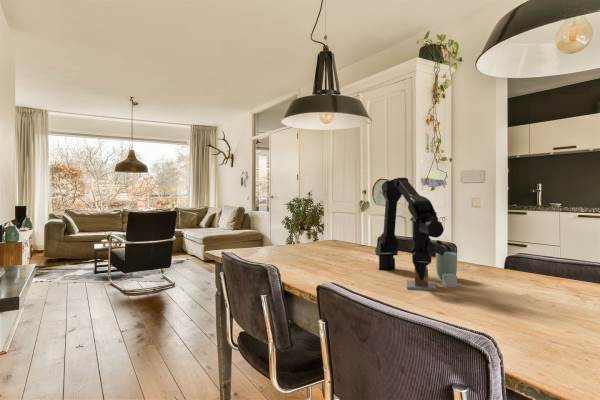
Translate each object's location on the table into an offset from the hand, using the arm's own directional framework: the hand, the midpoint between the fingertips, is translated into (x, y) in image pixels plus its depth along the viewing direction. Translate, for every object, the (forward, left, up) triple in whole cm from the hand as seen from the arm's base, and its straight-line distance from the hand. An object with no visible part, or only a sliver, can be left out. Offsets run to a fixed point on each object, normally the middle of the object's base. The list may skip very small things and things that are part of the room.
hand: (421, 276), depth 132 cm
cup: (+10, +15, -4) cm, 18 cm away
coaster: (0, 0, -4) cm, 4 cm away
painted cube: (+10, +4, -4) cm, 11 cm away
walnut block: (0, 0, -3) cm, 3 cm away
